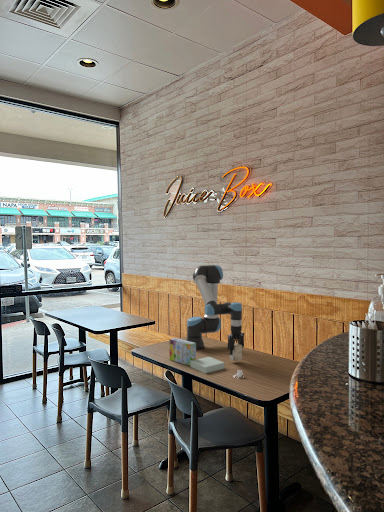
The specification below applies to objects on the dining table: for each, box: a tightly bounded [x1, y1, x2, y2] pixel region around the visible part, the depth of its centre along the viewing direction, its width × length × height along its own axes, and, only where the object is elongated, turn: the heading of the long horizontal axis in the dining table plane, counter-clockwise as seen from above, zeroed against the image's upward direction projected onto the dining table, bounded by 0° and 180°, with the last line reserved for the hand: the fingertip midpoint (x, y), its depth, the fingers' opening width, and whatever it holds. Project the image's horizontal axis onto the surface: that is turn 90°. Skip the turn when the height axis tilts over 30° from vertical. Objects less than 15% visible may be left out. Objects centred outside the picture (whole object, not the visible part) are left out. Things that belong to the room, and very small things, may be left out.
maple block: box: [233, 342, 243, 362], centre depth 271 cm, size 6×6×10 cm
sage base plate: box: [190, 356, 225, 374], centre depth 261 cm, size 16×16×4 cm
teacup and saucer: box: [232, 369, 244, 380], centre depth 244 cm, size 9×8×4 cm
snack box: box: [169, 337, 197, 367], centre depth 272 cm, size 21×6×15 cm, turn 47°
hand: (235, 358), depth 271 cm, fingers closed on maple block, 6 cm apart
